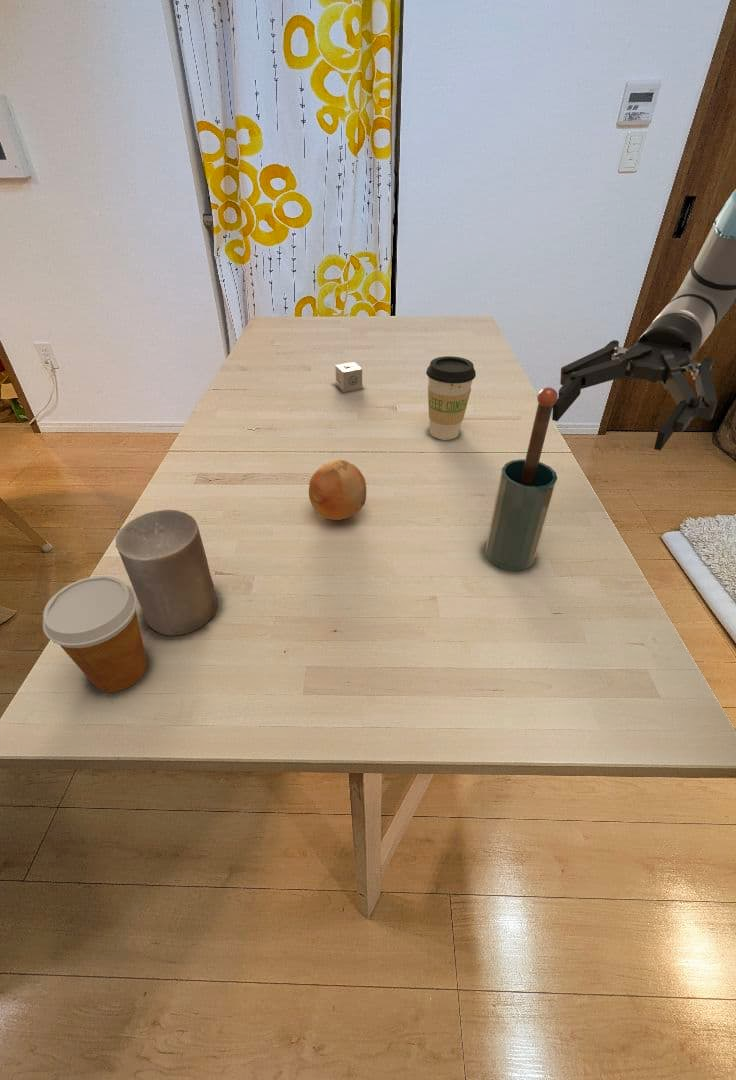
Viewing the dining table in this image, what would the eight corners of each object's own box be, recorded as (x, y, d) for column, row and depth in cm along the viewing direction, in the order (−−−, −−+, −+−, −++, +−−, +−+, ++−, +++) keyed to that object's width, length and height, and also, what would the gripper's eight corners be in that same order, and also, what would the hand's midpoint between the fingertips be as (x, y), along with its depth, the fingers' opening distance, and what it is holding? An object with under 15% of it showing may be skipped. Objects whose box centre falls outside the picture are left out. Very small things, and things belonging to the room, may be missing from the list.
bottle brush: (530, 557, 79) (575, 394, 62) (503, 561, 78) (541, 397, 61) (518, 539, 82) (557, 379, 65) (491, 542, 81) (525, 382, 65)
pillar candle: (220, 582, 76) (200, 497, 66) (215, 633, 68) (191, 546, 59) (151, 588, 75) (120, 503, 65) (138, 641, 67) (101, 554, 58)
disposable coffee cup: (125, 629, 69) (96, 562, 61) (176, 659, 65) (152, 592, 57) (60, 681, 62) (18, 614, 55) (113, 718, 59) (75, 651, 51)
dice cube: (336, 384, 131) (335, 365, 128) (354, 381, 132) (353, 362, 129) (343, 392, 127) (343, 372, 124) (362, 388, 129) (362, 369, 126)
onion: (320, 494, 93) (317, 444, 87) (373, 502, 91) (374, 452, 85) (301, 525, 86) (296, 474, 80) (358, 535, 84) (358, 484, 78)
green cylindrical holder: (543, 558, 80) (568, 475, 71) (512, 578, 77) (533, 494, 67) (506, 534, 85) (525, 453, 75) (475, 552, 81) (490, 470, 72)
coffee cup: (422, 443, 108) (428, 373, 98) (420, 421, 115) (425, 354, 106) (469, 444, 108) (480, 374, 98) (464, 422, 115) (473, 355, 106)
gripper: (765, 378, 70) (702, 478, 63) (587, 345, 84) (518, 423, 77) (785, 327, 65) (719, 430, 57) (592, 300, 79) (517, 380, 71)
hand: (604, 426), depth 67 cm, fingers open, 13 cm apart
